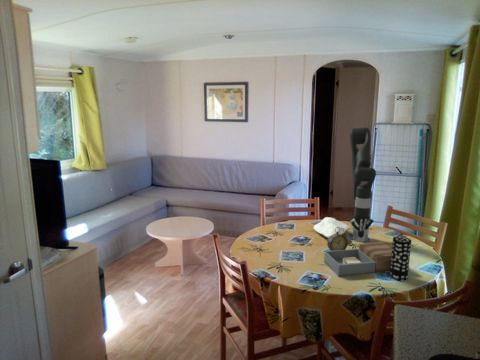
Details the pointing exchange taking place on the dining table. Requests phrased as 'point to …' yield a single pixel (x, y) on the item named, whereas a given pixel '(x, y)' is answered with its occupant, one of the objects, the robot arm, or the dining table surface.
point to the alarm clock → (337, 242)
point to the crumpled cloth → (330, 227)
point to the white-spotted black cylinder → (400, 258)
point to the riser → (378, 255)
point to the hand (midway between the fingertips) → (360, 237)
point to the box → (336, 264)
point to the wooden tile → (350, 260)
